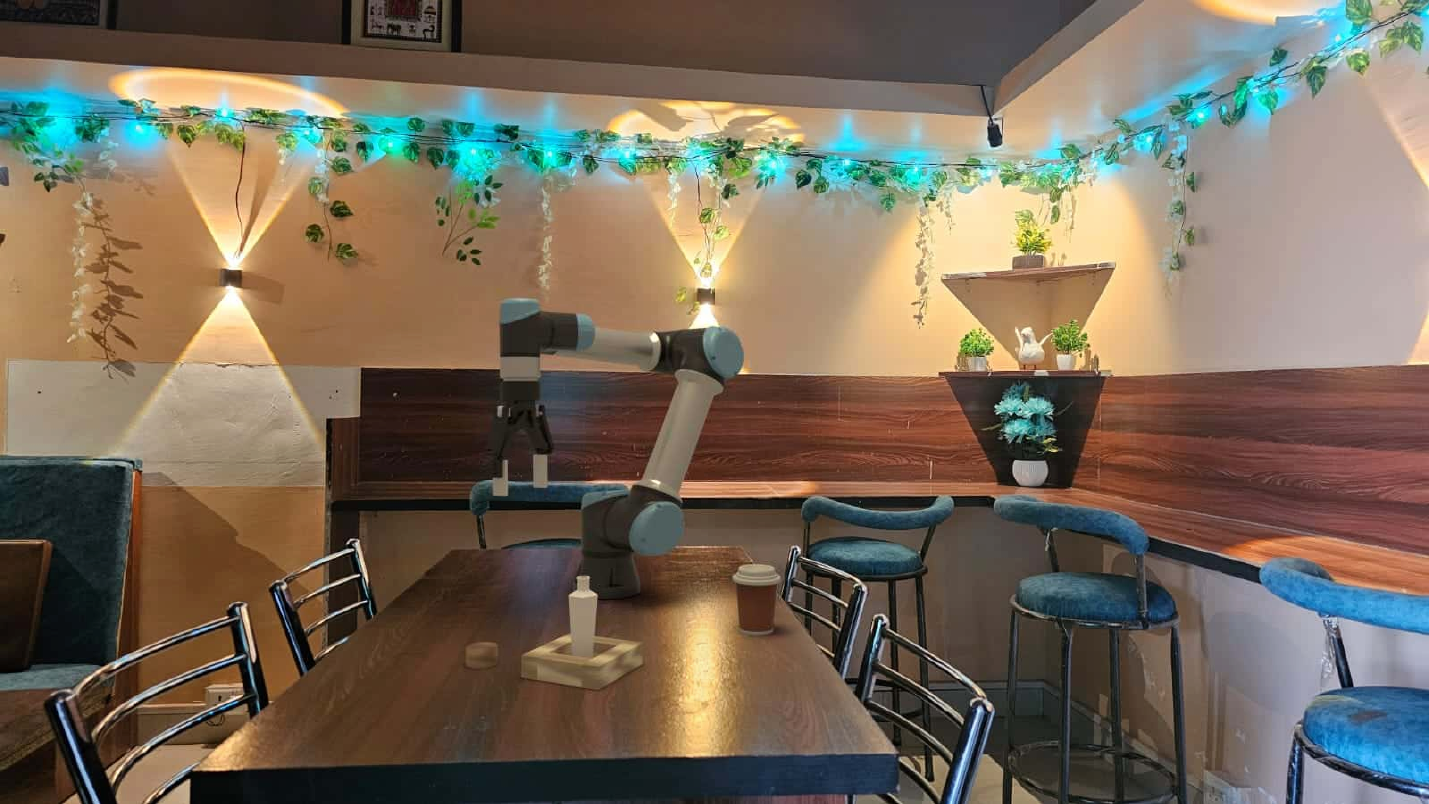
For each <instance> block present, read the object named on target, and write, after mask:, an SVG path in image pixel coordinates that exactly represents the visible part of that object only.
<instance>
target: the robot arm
mask: <svg viewBox="0 0 1429 804" xmlns="http://www.w3.org/2000/svg"><path fill="white" fill-rule="evenodd" d="M540 305H541V303H540V301H539V300H538V299H534V298H529V297H528V298H526V297H512V298H505V299H503V300H502V301H501V302H500V306H499V313H498V314H499V318H498V319H499V320H498V325H499V363H500V364H499V370H500V371H499V378H501V379H503V381H500V383H499V398H500V400H501V401H503V402H505V405H496V406H494V409H493V419H492V423H491V426H490V430H489V433H488V437H487V441H486V444H485V448H484V451H483V456H484V457H485V459H486V460H487V461H491V470H492V471H491V476H492V496H497V497H507V496H508V497H509V479H508V478H509V475H508V473H509V471H508V469H509V467H508V463H509V462H508V461H509V460H507V459H505V458H506V456H507V453H508V452H509V451H510V450H509V449H510V447H511V445H512V443H513V440H514V438H515V436H516V434H517V433H519V432H520V430H523V431H525V433H526V435H527V437H528V439H529V441H530V444H531V445H532V447H533V449H534V451H535V454H533V457H532V459H533V460H532V463H533V464H532V465H533V466H532V469H533V473H532V474H533V481H532V482H533V488H537V489H541V488H543V489H546V488H548V455H552V454H553V452H554V450H555V445H554V441H553V438H552V434H551V431H550V426H549V423H548V420H547V415H546V407H545V404H536V401H537V402H538V401H540V400H541V383H540V381H538V379H540V378H541V377H542V375H541V355H543V356H544V355H545V356H555V357H562V358H571V359H578V360H579V359H580V360H586V361H587V360H588V361H595V362H602V363H612V364H617V365H618V364H620V365H627V366H636V367H637V368H639V370H640V371H642V372H649V373H655V374H659V375H664V376H669V377H673V378H675V379H676V380H677V383H678V384H677V387H676V389H675V391H674V394H673V396H672V400H671V402H670V404H669V407H668V410H667V412H666V415H665V417H664V420H663V424H662V425H661V429H660V430H659V434H658V436H657V439H656V442H655V444H654V446H653V447H654V448H653V449H652V452H651V455H650V457H649V461H648V462H647V466H646V468H645V471H644V474H643V476H642V479H640V480H638V481H636V482H634V483H633V484H632V485H631V488H630V489H620V490H619V489H618V490H606V491H595V492H594V491H593V492H587V493H585V494H584V495H583V496H582V499H581V506H580V507H581V508H580V512H581V513H580V515H581V522H580V523H581V525H580V526H581V527H580V529H581V534H580V535H581V538H580V542H581V543H580V544H581V547H580V549H581V554H580V560H579V561H580V562H579V564H578V568H577V570H576V573H575V576H574V580H573V584H572V593H573V592H575V591H576V590H577V577H579V576H589V577H590V579H589V590H591V591H593V592H594V593H595V594H597V595H598V596H597V600H613V599H624V598H629V597H633V596H636V595H638V594H640V593H641V579H640V577H639V574H638V570H637V567H636V564H635V560H634V553H636V554H638V555H641V556H645V557H646V556H647V557H648V556H649V557H650V556H653V557H661V556H663V555H665V554H668V553H670V552H671V551H673V550H674V549H675V548H676V547H677V546H678V544H679V543H680V542H681V540H682V538H683V535H684V533H685V529H686V528H685V527H686V521H685V520H684V519H685V515H684V513H683V511H682V509H681V508H682V505H683V500H682V497H681V495H680V490H681V488H682V485H683V482H684V480H685V477H686V474H687V471H688V468H689V465H690V463H691V460H692V457H693V454H694V452H695V449H696V447H697V444H698V441H699V438H700V435H701V432H702V429H703V427H704V425H705V421H706V419H707V416H708V413H709V410H710V407H711V405H712V402H713V400H714V396H717V395H719V394H721V393H723V392H724V388H725V386H726V383H727V381H728V379H731V378H733V377H735V376H737V375H739V373H740V372H741V370H742V369H743V366H744V362H745V353H744V348H743V346H742V342H741V340H740V337H738V334H736V333H735V332H734V330H732V329H730V328H728V327H725V326H715V325H710V326H707V327H700V328H689V329H687V328H684V329H677V330H668V331H656V330H655V331H653V330H646V331H643V332H642V333H638V332H632V331H627V330H618V329H612V328H606V327H605V328H604V327H599V326H595V323H594V321H593V319H592V318H591V317H590V316H589V315H588V314H582V313H577V312H557V311H556V312H555V311H546V310H545V311H544V310H542V308H541V306H540Z"/></svg>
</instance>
